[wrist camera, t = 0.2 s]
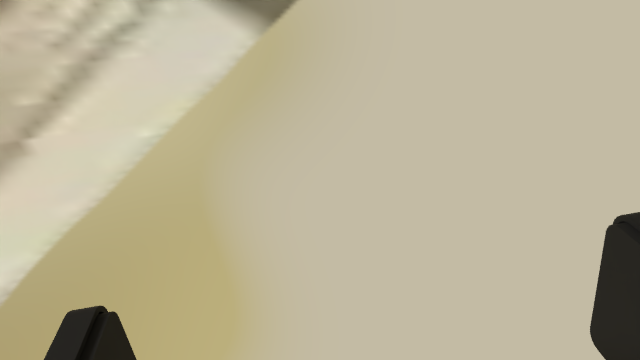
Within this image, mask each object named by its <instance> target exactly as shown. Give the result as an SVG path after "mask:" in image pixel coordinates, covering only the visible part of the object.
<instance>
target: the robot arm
mask: <svg viewBox="0 0 640 360" xmlns="http://www.w3.org/2000/svg"><path fill="white" fill-rule="evenodd" d="M590 334H591V338H592V341H593V343H594V345H595V347H596V348H597V349H598V350H599V352H600V353H601V354H602V356H603V357H604V358H605V359H606V360H640V212H638V213H632V214H626V215H621V216H618V217H617V218H616V219H615V220H614V222H613V225H610V226H609V227H608V228H607V231H606V235H605V241H604V247H603V253H602V259H601V265H600V271H599V277H598V284H597V290H596V295H595V301H594V308H593V314H592V320H591V326H590ZM44 360H136V357H135V355H134V353H133V350H132V348H131V346H130V343H129V341H128V338H127V336H126V334H125V331H124V329H123V326H122V324H121V321H120V319H119V317H118V315H117V313H115V312H108V311H107V309H106V308H105V307H104V306H95V307H89V308H84V309H78V310H72V311H70V312H68V313H67V314H66V316H65V318H64V319H63V321H62V323H61V325H60V328H59V330H58V332H57V334H56V336H55V338H54V340H53V342H52V344H51V346H50V348H49V350H48V352H47V355H46V356H45V358H44Z"/></svg>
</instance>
